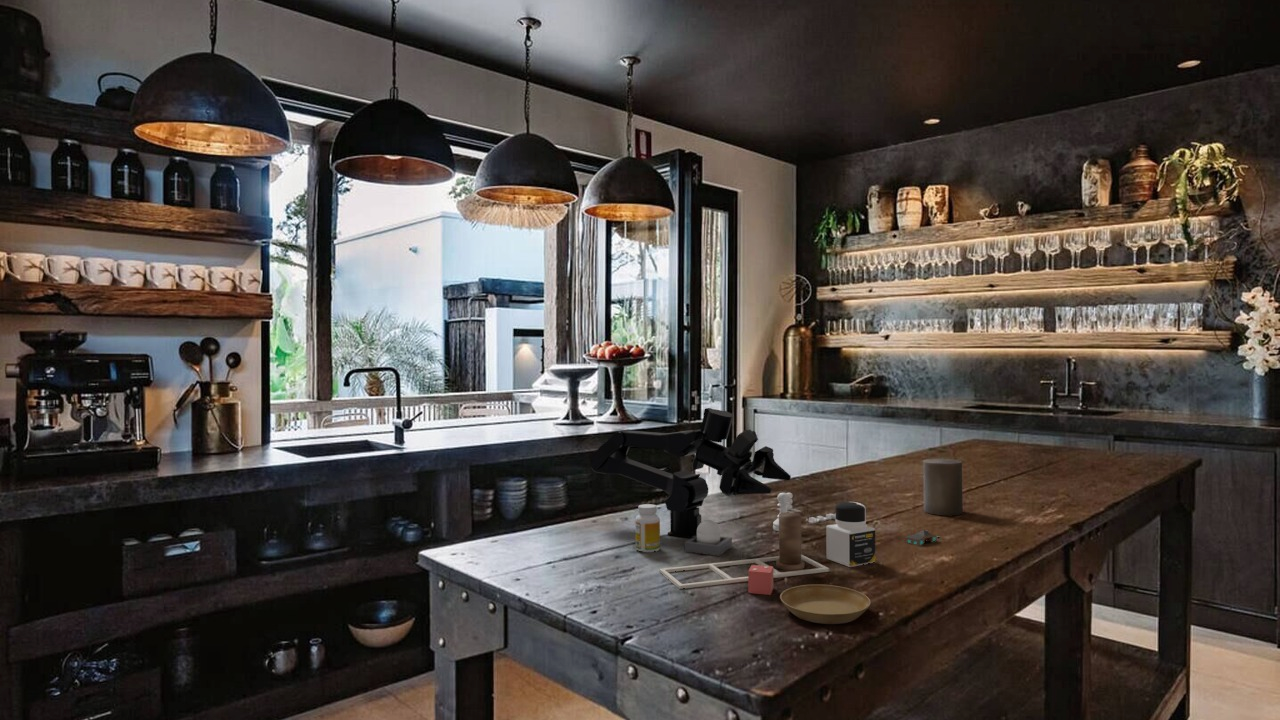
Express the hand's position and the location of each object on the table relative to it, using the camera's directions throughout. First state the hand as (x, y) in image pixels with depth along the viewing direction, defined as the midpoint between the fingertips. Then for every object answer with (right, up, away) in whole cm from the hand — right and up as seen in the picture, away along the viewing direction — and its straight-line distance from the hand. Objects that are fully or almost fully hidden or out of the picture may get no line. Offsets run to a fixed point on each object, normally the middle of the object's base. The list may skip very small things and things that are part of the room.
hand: (780, 484), depth 164 cm
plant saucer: (0, -16, -38) cm, 41 cm away
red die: (-9, -15, -27) cm, 32 cm away
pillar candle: (+50, -13, +35) cm, 62 cm away
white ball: (-16, -13, +1) cm, 21 cm away
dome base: (-16, -14, +1) cm, 21 cm away
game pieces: (+22, -14, +22) cm, 34 cm away
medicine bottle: (+13, -15, -9) cm, 21 cm away
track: (-10, -15, -16) cm, 24 cm away
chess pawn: (+4, -14, +18) cm, 23 cm away
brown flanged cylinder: (0, -15, -12) cm, 19 cm away
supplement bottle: (-29, -15, +1) cm, 33 cm away
